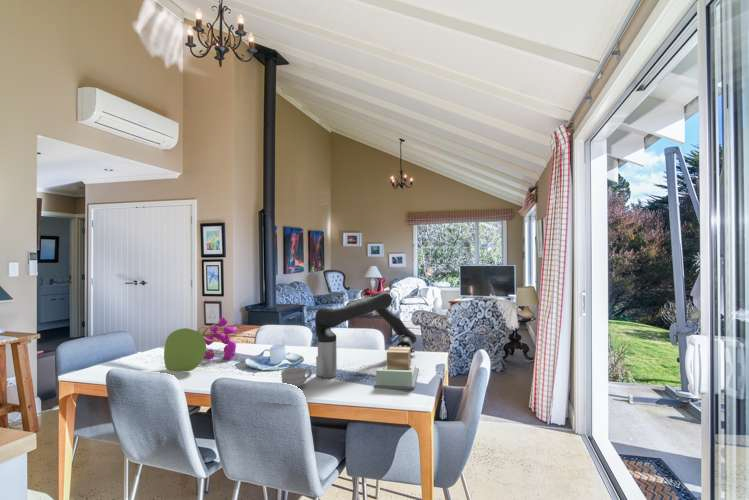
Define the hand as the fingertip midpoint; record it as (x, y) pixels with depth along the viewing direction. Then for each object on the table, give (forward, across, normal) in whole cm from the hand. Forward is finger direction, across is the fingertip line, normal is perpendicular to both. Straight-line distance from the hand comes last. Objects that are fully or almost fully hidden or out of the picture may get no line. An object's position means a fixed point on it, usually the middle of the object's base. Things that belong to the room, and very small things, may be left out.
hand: (401, 353), depth 221 cm
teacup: (+34, -44, +8) cm, 56 cm away
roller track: (+16, 0, +8) cm, 18 cm away
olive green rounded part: (+1, -110, +8) cm, 111 cm away
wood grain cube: (+10, 0, +7) cm, 12 cm away
